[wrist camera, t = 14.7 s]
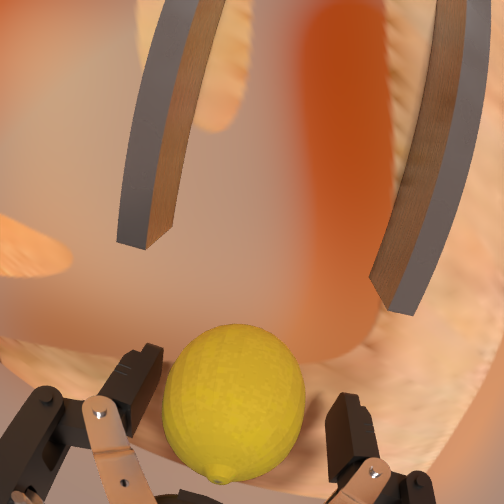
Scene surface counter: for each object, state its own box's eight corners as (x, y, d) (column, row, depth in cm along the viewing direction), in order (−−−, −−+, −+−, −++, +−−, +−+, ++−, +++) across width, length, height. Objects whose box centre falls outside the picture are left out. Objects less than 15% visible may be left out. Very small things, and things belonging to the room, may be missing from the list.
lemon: (176, 302, 15) (102, 428, 7) (290, 282, 14) (293, 428, 6) (211, 384, 17) (175, 507, 9) (309, 373, 16) (316, 508, 8)
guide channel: (147, 220, 14) (116, 242, 11) (220, -59, 9) (207, -94, 6) (391, 282, 14) (413, 316, 11) (458, 9, 9) (490, -10, 6)
